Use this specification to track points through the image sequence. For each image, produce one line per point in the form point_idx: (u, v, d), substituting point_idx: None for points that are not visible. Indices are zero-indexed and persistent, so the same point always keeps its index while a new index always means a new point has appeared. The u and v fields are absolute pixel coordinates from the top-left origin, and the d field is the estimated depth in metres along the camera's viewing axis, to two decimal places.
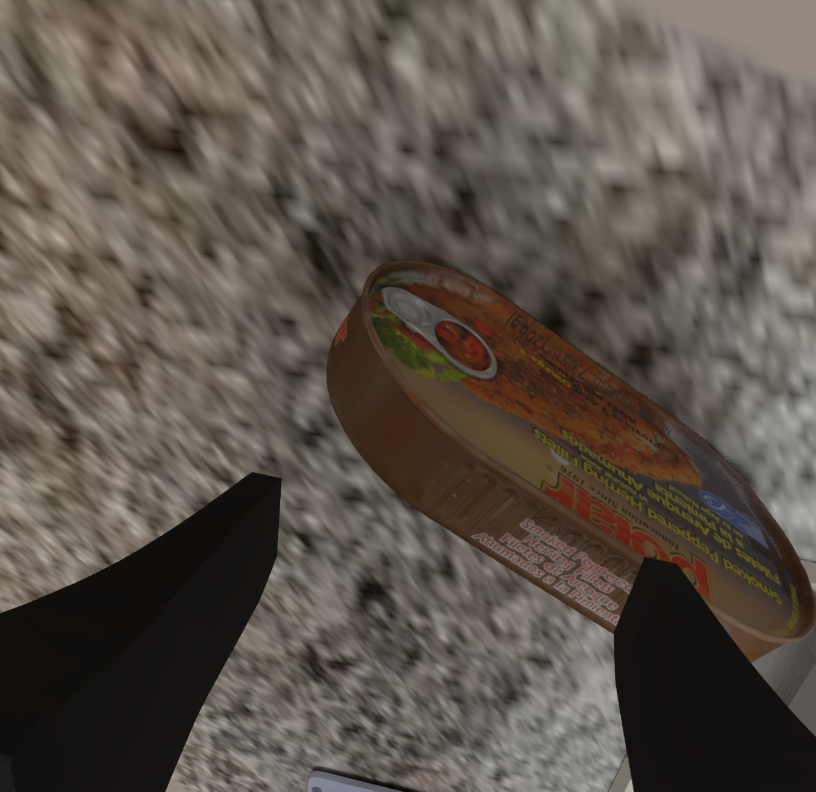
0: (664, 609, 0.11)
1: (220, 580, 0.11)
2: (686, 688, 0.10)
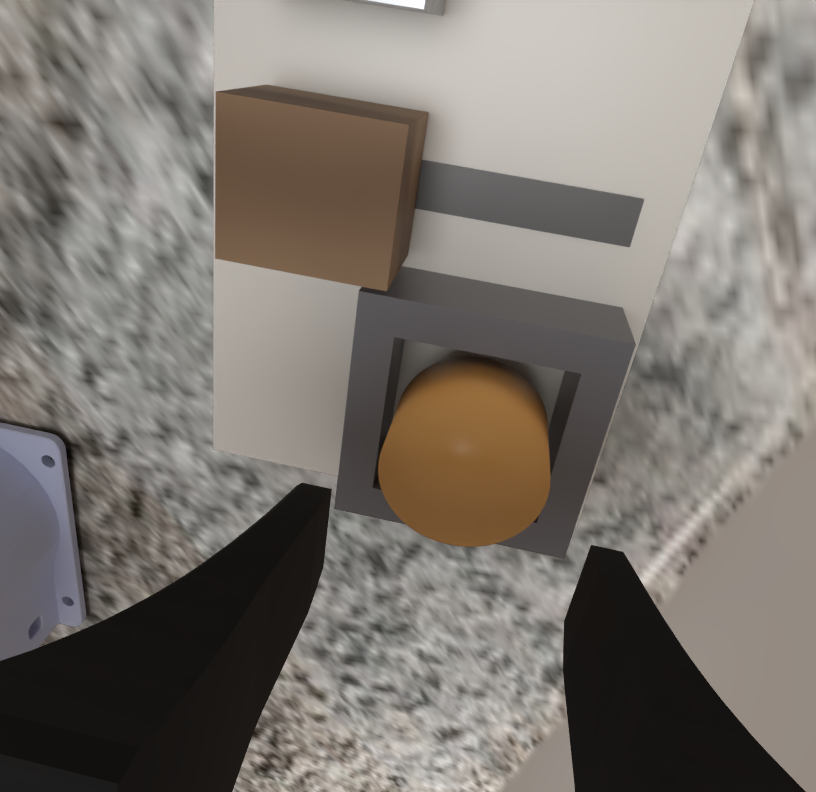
0: (604, 596, 0.11)
1: (279, 594, 0.11)
2: (618, 673, 0.10)
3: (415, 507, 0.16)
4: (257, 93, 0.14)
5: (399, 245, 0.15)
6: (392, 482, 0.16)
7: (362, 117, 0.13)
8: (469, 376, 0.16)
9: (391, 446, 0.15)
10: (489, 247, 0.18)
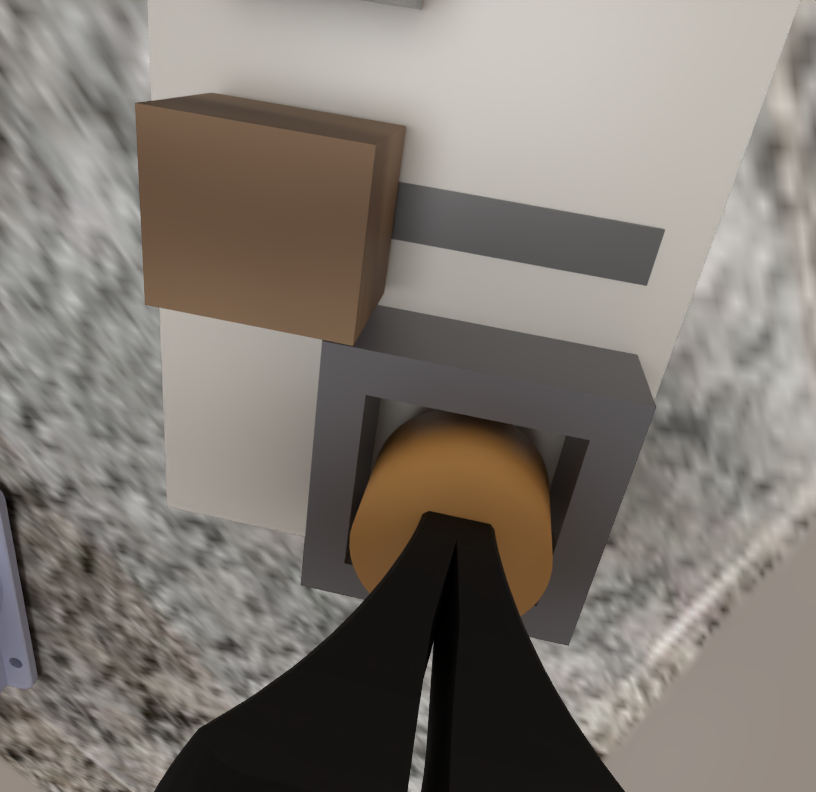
0: (456, 563, 0.11)
1: (432, 628, 0.11)
2: (452, 635, 0.10)
3: None
4: (191, 104, 0.12)
5: (370, 287, 0.13)
6: (366, 560, 0.14)
7: (318, 134, 0.11)
8: (457, 435, 0.13)
9: (364, 520, 0.13)
10: (479, 284, 0.15)
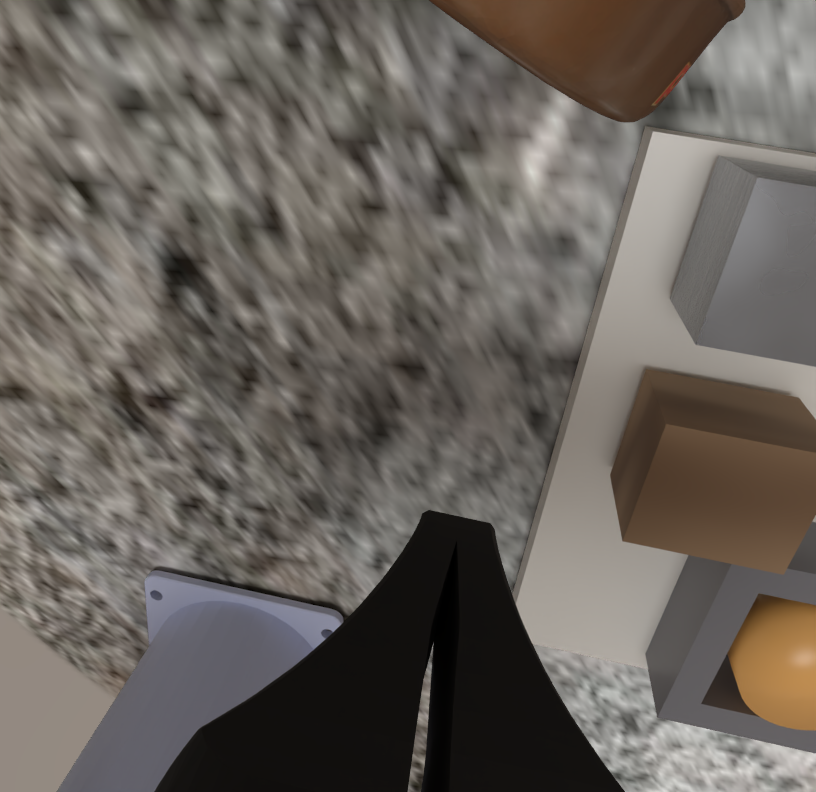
0: (456, 563, 0.11)
1: (432, 628, 0.11)
2: (452, 635, 0.10)
3: (765, 700, 0.19)
4: (682, 410, 0.16)
5: None
6: (750, 682, 0.19)
7: (802, 449, 0.15)
8: None
9: (757, 656, 0.19)
10: None
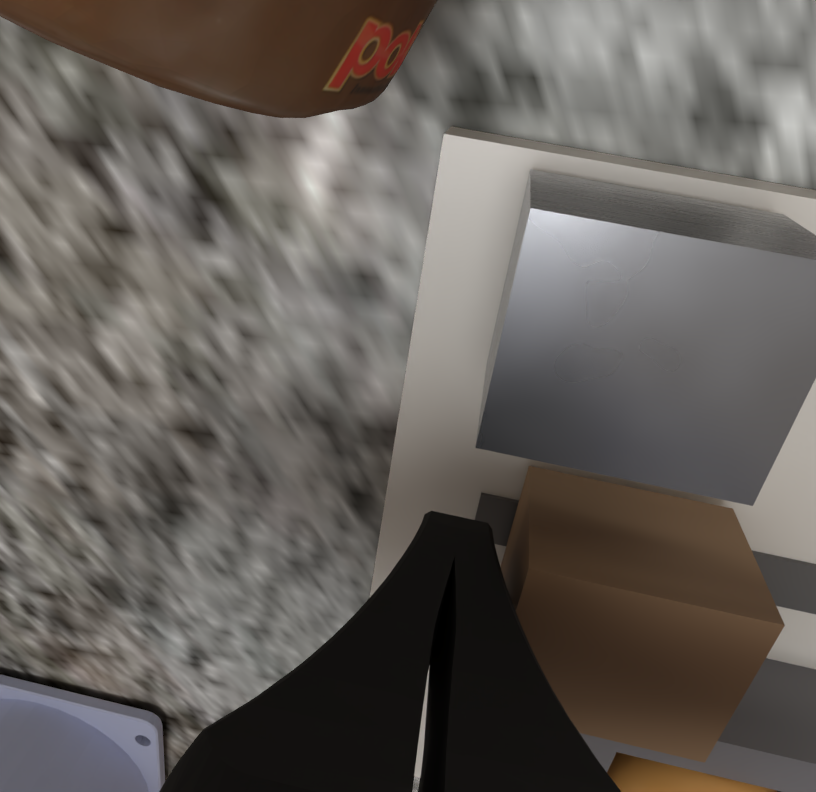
0: (453, 563, 0.11)
1: (435, 629, 0.11)
2: (449, 634, 0.10)
3: None
4: (560, 539, 0.11)
5: None
6: None
7: (722, 609, 0.10)
8: None
9: None
10: None
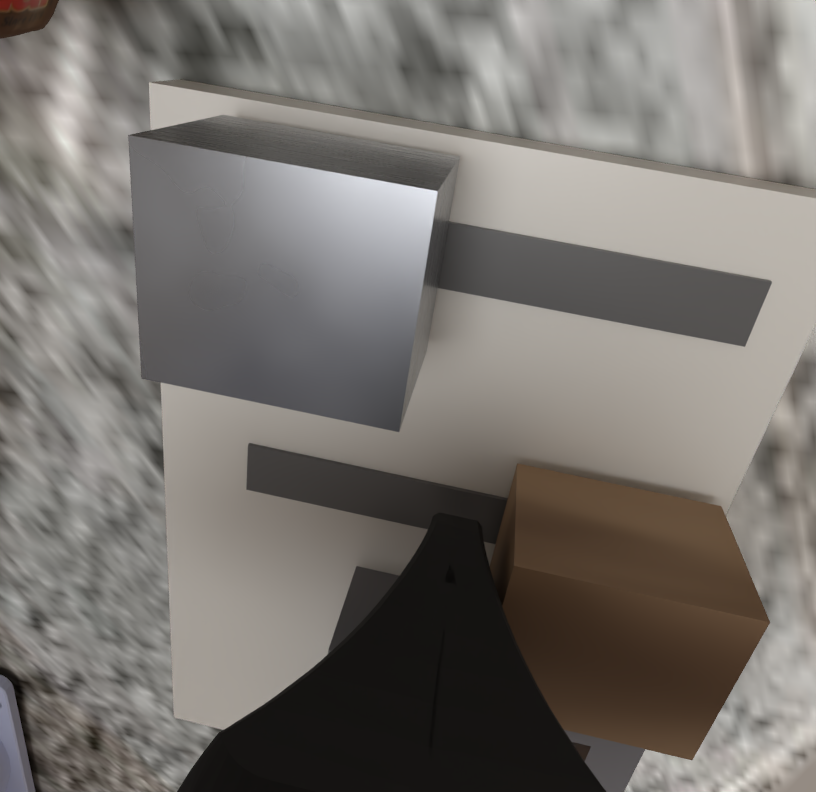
0: None
1: None
2: None
3: None
4: (547, 537, 0.11)
5: None
6: None
7: (708, 606, 0.10)
8: None
9: None
10: None
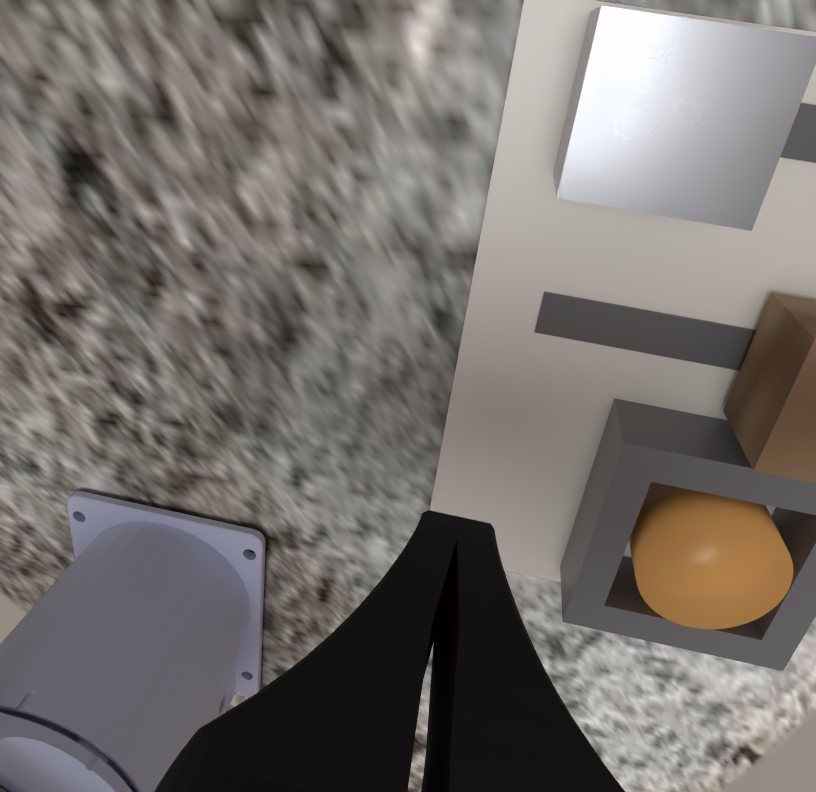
0: (456, 563, 0.11)
1: (432, 629, 0.11)
2: (452, 635, 0.10)
3: (664, 597, 0.19)
4: None
5: None
6: (647, 577, 0.19)
7: None
8: None
9: (652, 548, 0.18)
10: (724, 389, 0.19)
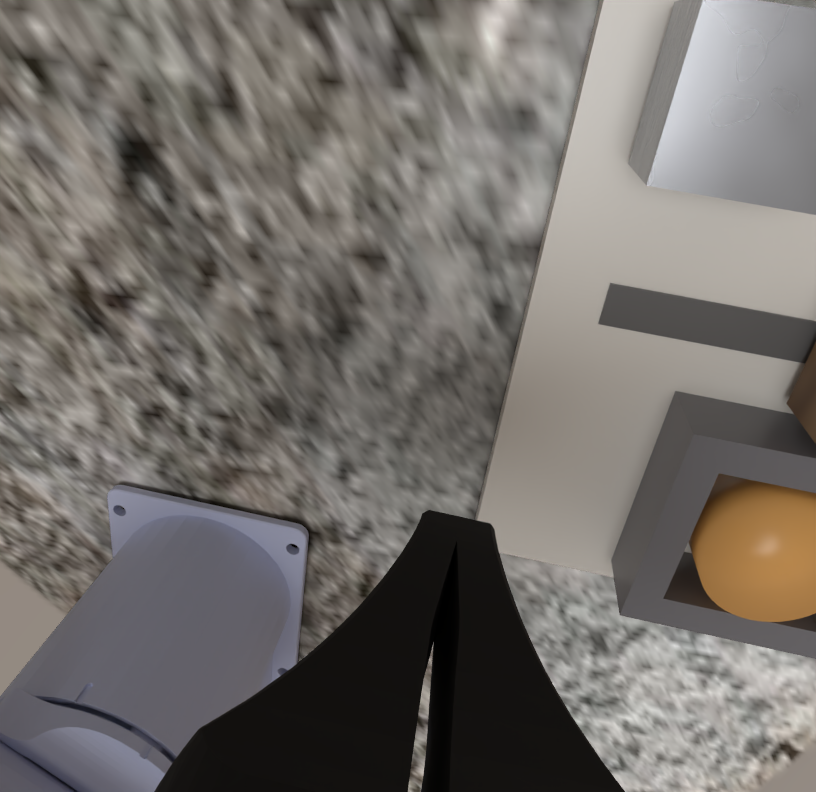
0: (456, 563, 0.11)
1: (432, 629, 0.11)
2: (453, 635, 0.10)
3: (726, 589, 0.19)
4: None
5: None
6: (711, 569, 0.19)
7: None
8: None
9: (718, 540, 0.18)
10: (787, 382, 0.19)
